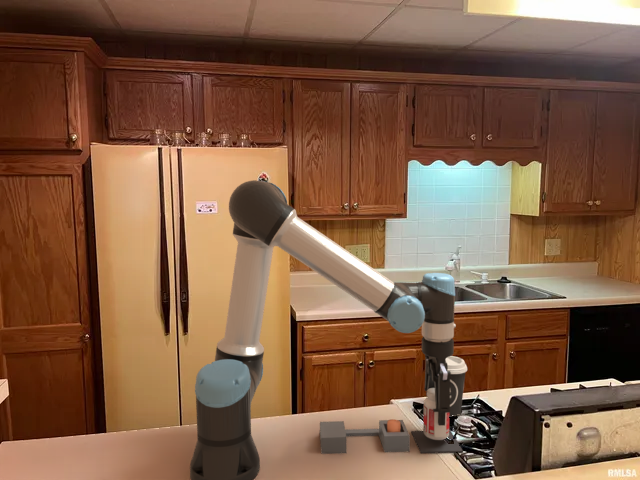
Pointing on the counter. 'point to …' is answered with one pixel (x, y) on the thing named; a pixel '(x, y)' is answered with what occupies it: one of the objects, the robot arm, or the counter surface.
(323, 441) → the housing
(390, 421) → the plunger
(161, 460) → the counter surface
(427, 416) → the pill bottle
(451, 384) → the coffee cup
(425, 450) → the mat
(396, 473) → the counter surface
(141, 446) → the counter surface
